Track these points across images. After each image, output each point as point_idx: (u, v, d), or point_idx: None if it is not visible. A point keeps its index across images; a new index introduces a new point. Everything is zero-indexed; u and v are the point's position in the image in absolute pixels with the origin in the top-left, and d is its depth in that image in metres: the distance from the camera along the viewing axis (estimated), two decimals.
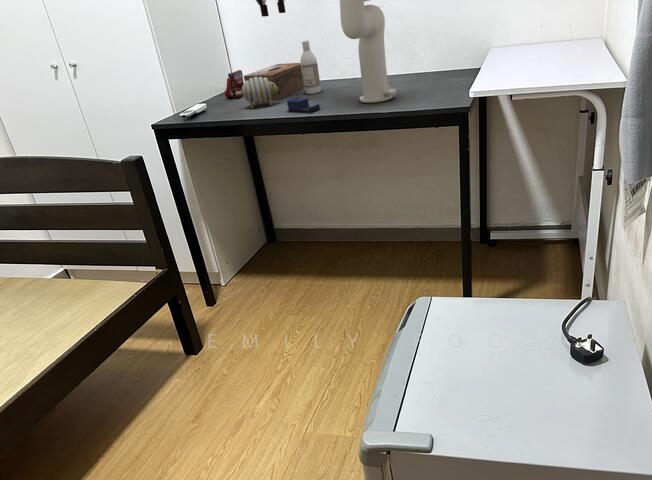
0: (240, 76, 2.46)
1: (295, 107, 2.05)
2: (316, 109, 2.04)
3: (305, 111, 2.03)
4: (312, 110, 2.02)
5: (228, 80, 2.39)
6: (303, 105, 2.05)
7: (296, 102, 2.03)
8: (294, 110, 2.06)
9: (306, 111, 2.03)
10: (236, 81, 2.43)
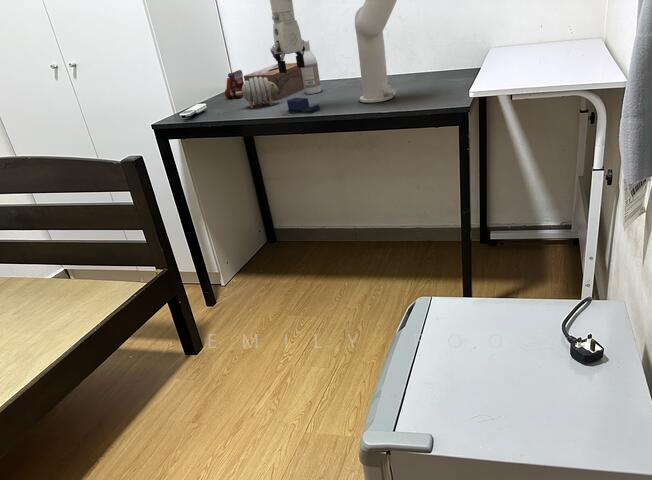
0: (240, 76, 2.46)
1: (295, 107, 2.05)
2: (316, 109, 2.04)
3: (305, 111, 2.03)
4: (312, 110, 2.02)
5: (228, 80, 2.39)
6: (303, 105, 2.05)
7: (296, 102, 2.03)
8: (294, 110, 2.06)
9: (306, 111, 2.03)
10: (236, 81, 2.43)
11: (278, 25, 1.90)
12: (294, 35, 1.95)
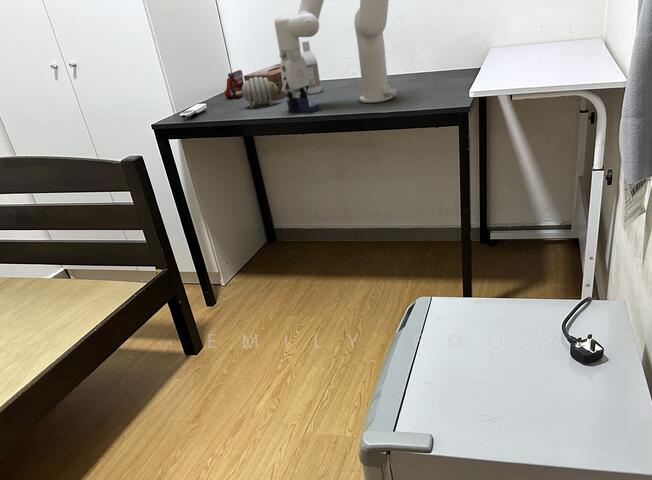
0: (240, 76, 2.46)
1: None
2: (316, 109, 2.04)
3: (305, 111, 2.03)
4: (312, 110, 2.02)
5: (228, 80, 2.39)
6: (303, 105, 2.05)
7: None
8: (294, 110, 2.06)
9: (306, 111, 2.03)
10: (236, 81, 2.43)
11: (285, 62, 1.95)
12: (301, 71, 2.00)
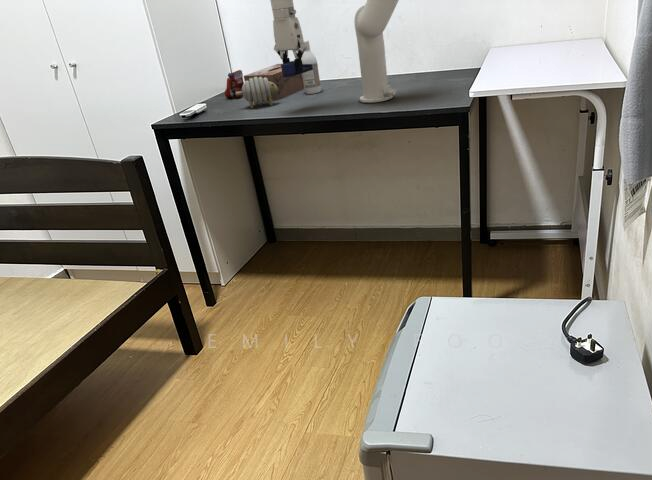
0: (240, 76, 2.46)
1: None
2: None
3: (307, 69, 2.02)
4: None
5: (228, 80, 2.39)
6: None
7: None
8: (298, 72, 1.99)
9: (308, 69, 2.03)
10: (236, 81, 2.43)
11: (296, 19, 1.90)
12: None
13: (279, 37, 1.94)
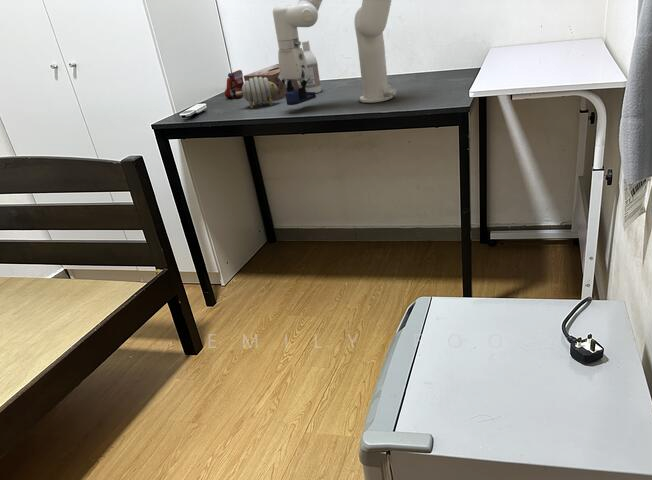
0: (240, 76, 2.46)
1: None
2: None
3: (311, 97, 2.08)
4: None
5: (228, 80, 2.39)
6: None
7: None
8: (301, 100, 2.04)
9: (312, 97, 2.08)
10: (236, 81, 2.43)
11: (301, 50, 1.95)
12: None
13: (284, 67, 1.99)
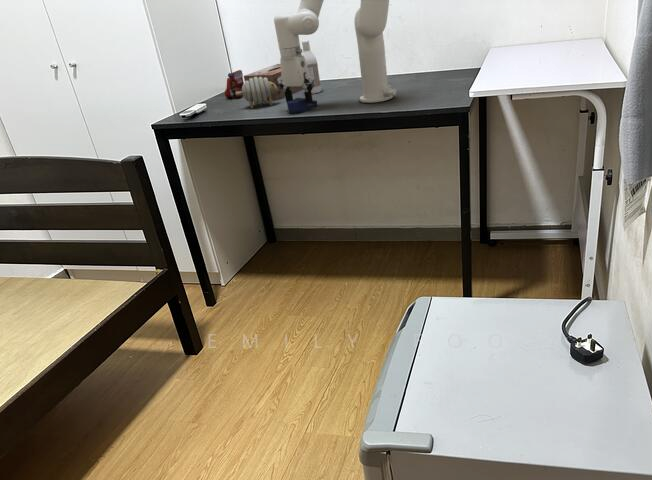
0: (240, 76, 2.46)
1: (304, 105, 2.05)
2: None
3: (313, 106, 2.09)
4: None
5: (228, 80, 2.39)
6: None
7: (305, 100, 2.05)
8: (303, 109, 2.05)
9: (313, 106, 2.09)
10: (236, 81, 2.43)
11: (303, 57, 1.97)
12: None
13: (286, 74, 2.00)
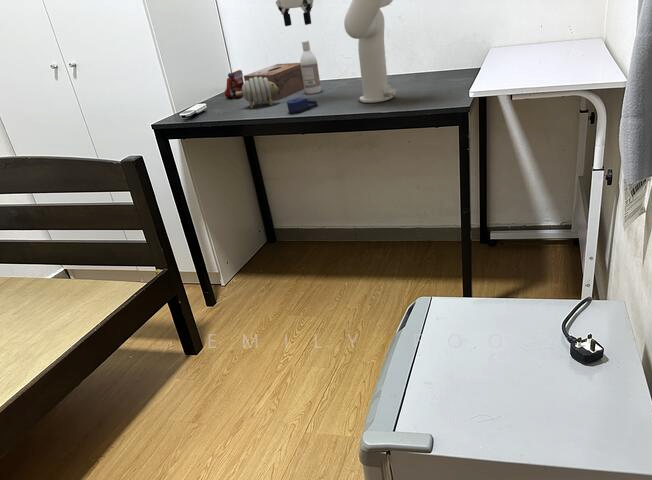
0: (240, 76, 2.46)
1: (304, 105, 2.05)
2: None
3: (313, 106, 2.09)
4: None
5: (228, 80, 2.39)
6: None
7: (305, 100, 2.05)
8: (303, 109, 2.05)
9: (313, 106, 2.09)
10: (236, 81, 2.43)
11: None
12: None
13: None
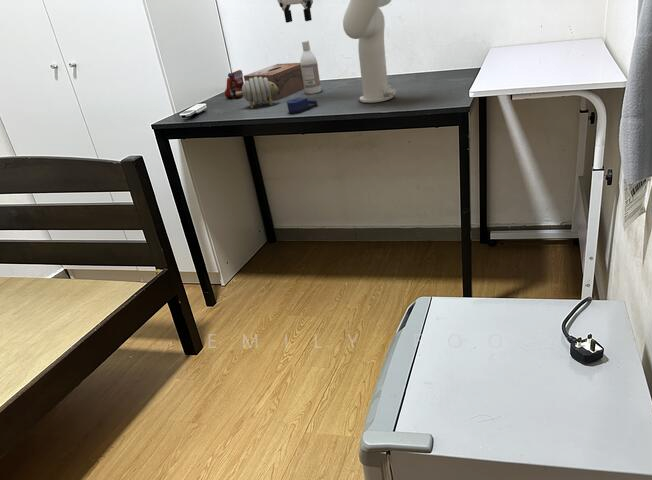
0: (240, 76, 2.46)
1: (304, 105, 2.05)
2: None
3: (313, 106, 2.09)
4: None
5: (228, 80, 2.39)
6: None
7: (305, 100, 2.05)
8: (303, 109, 2.05)
9: (313, 106, 2.09)
10: (236, 81, 2.43)
11: None
12: None
13: None
